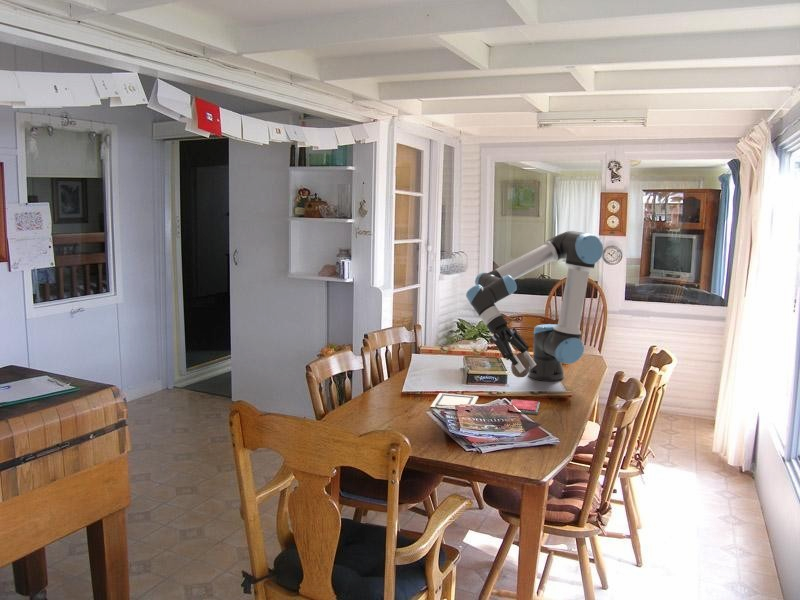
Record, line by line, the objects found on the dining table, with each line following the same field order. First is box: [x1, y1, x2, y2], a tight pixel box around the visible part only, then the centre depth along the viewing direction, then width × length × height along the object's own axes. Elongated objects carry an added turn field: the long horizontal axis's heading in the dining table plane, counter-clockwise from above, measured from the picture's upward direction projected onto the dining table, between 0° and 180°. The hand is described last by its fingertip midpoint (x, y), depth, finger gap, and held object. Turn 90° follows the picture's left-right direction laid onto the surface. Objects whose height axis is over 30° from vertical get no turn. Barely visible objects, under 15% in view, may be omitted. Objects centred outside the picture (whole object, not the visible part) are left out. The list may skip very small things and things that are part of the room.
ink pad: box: [510, 398, 541, 415], centre depth 264 cm, size 11×11×1 cm
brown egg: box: [510, 352, 530, 378], centre depth 261 cm, size 7×7×9 cm
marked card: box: [429, 392, 479, 408], centre depth 270 cm, size 16×16×1 cm
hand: (528, 368), depth 259 cm, fingers closed on brown egg, 7 cm apart
